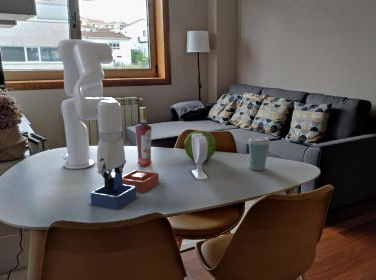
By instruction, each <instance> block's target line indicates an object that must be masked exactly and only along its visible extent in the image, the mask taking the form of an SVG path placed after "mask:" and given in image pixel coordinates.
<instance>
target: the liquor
mask: <svg viewBox="0 0 376 280" xmlns="http://www.w3.org/2000/svg"><path fill="white" fill-rule="evenodd" d="M139 113H140V116H139V118H140V119H139V123H138V124H137V125H136V126H135V128H134V129H135V141H136V149H137V163H136V164H137V165H138V166H139V167H142V168H147V167H150V166H151V165H152V164H153V161H152V126H151V125H150V124H148V122H147V116H146V113H147V107H146V106H139Z"/></svg>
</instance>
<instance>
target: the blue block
mask: <svg viewBox="0 0 376 280" xmlns="http://www.w3.org/2000/svg"><path fill="white" fill-rule="evenodd" d="M114 172H115V171H114ZM114 172H113V171H112V176H111V178H113V189H116V188H118V187H120V186H122V185H123V181H122V176H123V173H122V174H121V173H114Z"/></svg>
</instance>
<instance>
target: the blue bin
mask: <svg viewBox="0 0 376 280" xmlns="http://www.w3.org/2000/svg"><path fill="white" fill-rule="evenodd" d="M136 199H137V192H136V186H130V185H124V184H123V185H122V186H120V187H118V188H116V189H108V188H105V185H103V186H101V187H99V188H97V189H94V190H92V191H91V192H90V204H91V205H92V206H97V207H103V208H108V209H113V210H116V211H117V210H120V209H121V208H123V207H124V206H126V205H128V204H129V203H130V202H132V201H134V200H136Z"/></svg>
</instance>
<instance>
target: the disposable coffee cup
mask: <svg viewBox="0 0 376 280" xmlns="http://www.w3.org/2000/svg"><path fill="white" fill-rule="evenodd" d="M247 144H248V145H247V146H248V153H249V165H250V169H251V170H254V171H263V170H264V169H265V167H266V162H267V158H268V153H269V148H270V144H271V140H270V137H267V136H254V137H249V139H248V141H247Z"/></svg>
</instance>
